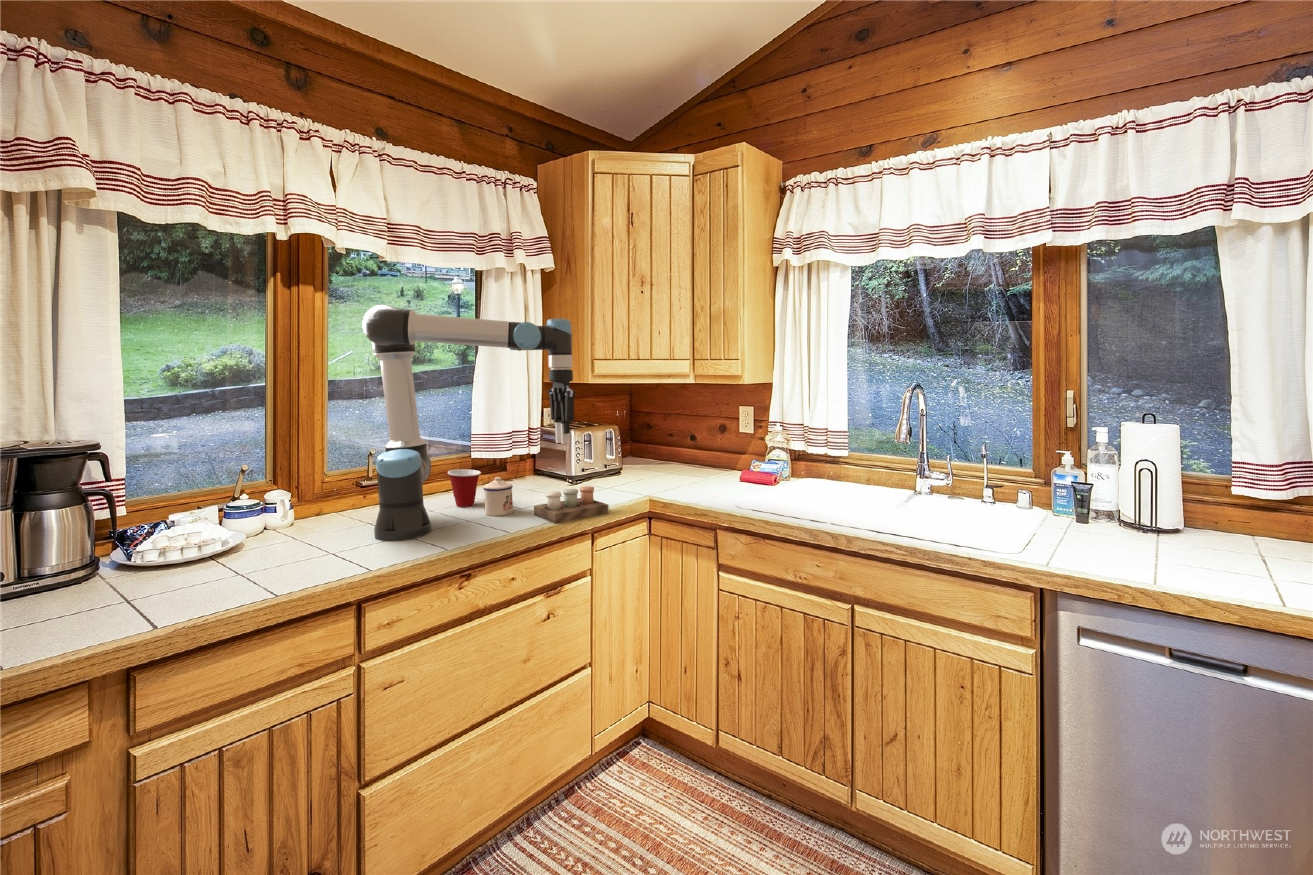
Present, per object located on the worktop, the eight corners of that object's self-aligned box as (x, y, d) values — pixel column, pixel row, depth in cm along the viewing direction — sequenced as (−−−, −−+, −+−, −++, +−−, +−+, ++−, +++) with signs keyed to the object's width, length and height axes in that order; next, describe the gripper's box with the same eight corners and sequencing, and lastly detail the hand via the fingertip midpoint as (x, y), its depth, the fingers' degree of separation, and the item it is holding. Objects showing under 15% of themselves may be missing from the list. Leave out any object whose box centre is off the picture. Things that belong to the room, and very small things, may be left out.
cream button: (551, 511, 188) (550, 495, 188) (544, 509, 192) (543, 492, 191) (564, 509, 191) (563, 493, 191) (557, 506, 195) (556, 490, 194)
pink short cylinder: (584, 505, 196) (584, 489, 195) (577, 503, 199) (577, 487, 199) (597, 503, 198) (596, 487, 198) (589, 501, 202) (589, 485, 201)
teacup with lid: (508, 516, 194) (507, 480, 193) (480, 516, 195) (478, 480, 193) (519, 507, 206) (518, 473, 204) (492, 507, 206) (491, 473, 205)
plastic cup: (478, 508, 205) (476, 473, 203) (445, 509, 204) (443, 474, 202) (485, 501, 215) (483, 467, 214) (454, 502, 215) (452, 468, 213)
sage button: (568, 508, 192) (567, 492, 191) (561, 506, 196) (560, 490, 195) (581, 506, 195) (580, 490, 194) (573, 504, 199) (573, 488, 198)
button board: (555, 523, 184) (554, 514, 184) (534, 515, 195) (533, 505, 195) (608, 513, 196) (608, 504, 195) (585, 505, 207) (585, 497, 206)
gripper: (584, 368, 189) (586, 444, 192) (558, 368, 202) (561, 439, 205) (562, 369, 185) (564, 446, 187) (538, 369, 197) (540, 441, 200)
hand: (562, 442), depth 196 cm, fingers open, 3 cm apart
